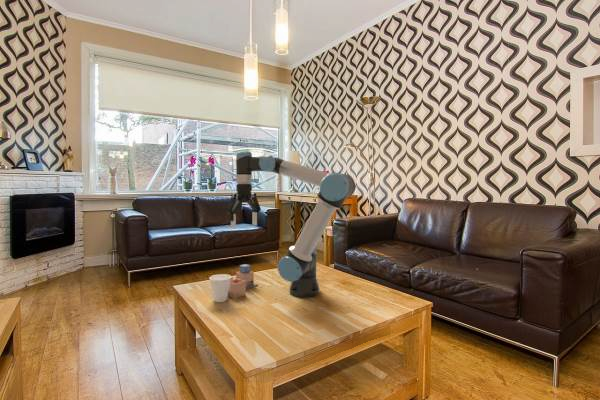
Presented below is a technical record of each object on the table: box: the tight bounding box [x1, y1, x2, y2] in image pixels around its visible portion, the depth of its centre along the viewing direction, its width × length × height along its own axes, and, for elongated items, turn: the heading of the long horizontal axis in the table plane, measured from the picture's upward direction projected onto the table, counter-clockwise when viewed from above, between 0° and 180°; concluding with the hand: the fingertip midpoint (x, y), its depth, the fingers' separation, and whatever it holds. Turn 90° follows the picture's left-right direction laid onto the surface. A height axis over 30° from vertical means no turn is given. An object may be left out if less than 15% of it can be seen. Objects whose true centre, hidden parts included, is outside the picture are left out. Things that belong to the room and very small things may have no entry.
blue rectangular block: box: [239, 263, 251, 274], centre depth 170 cm, size 4×4×8 cm
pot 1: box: [235, 270, 255, 287], centre depth 170 cm, size 6×6×7 cm
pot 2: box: [228, 278, 247, 299], centre depth 156 cm, size 6×6×7 cm
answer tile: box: [246, 283, 259, 291], centre depth 170 cm, size 10×10×1 cm
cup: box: [209, 273, 232, 303], centre depth 149 cm, size 10×10×11 cm
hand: (244, 226), depth 158 cm, fingers open, 13 cm apart
